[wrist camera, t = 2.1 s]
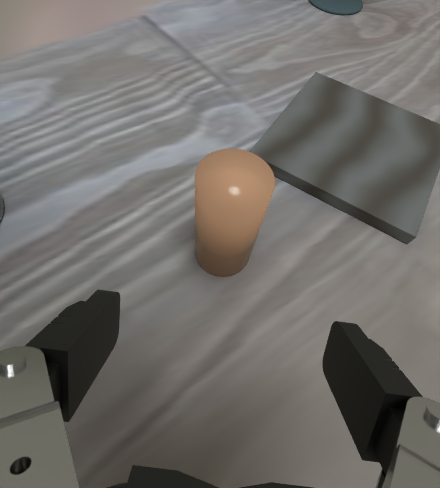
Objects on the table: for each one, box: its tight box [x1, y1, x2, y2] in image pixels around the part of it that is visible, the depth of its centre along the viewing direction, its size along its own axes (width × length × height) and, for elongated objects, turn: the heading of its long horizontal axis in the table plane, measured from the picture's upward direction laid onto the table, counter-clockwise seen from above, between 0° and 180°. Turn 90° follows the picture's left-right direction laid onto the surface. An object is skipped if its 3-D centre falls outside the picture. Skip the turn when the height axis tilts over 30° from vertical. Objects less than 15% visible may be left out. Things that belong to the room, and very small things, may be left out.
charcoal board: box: [250, 72, 440, 244], centre depth 38 cm, size 20×20×2 cm
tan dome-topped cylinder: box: [195, 149, 275, 277], centre depth 25 cm, size 6×6×11 cm
